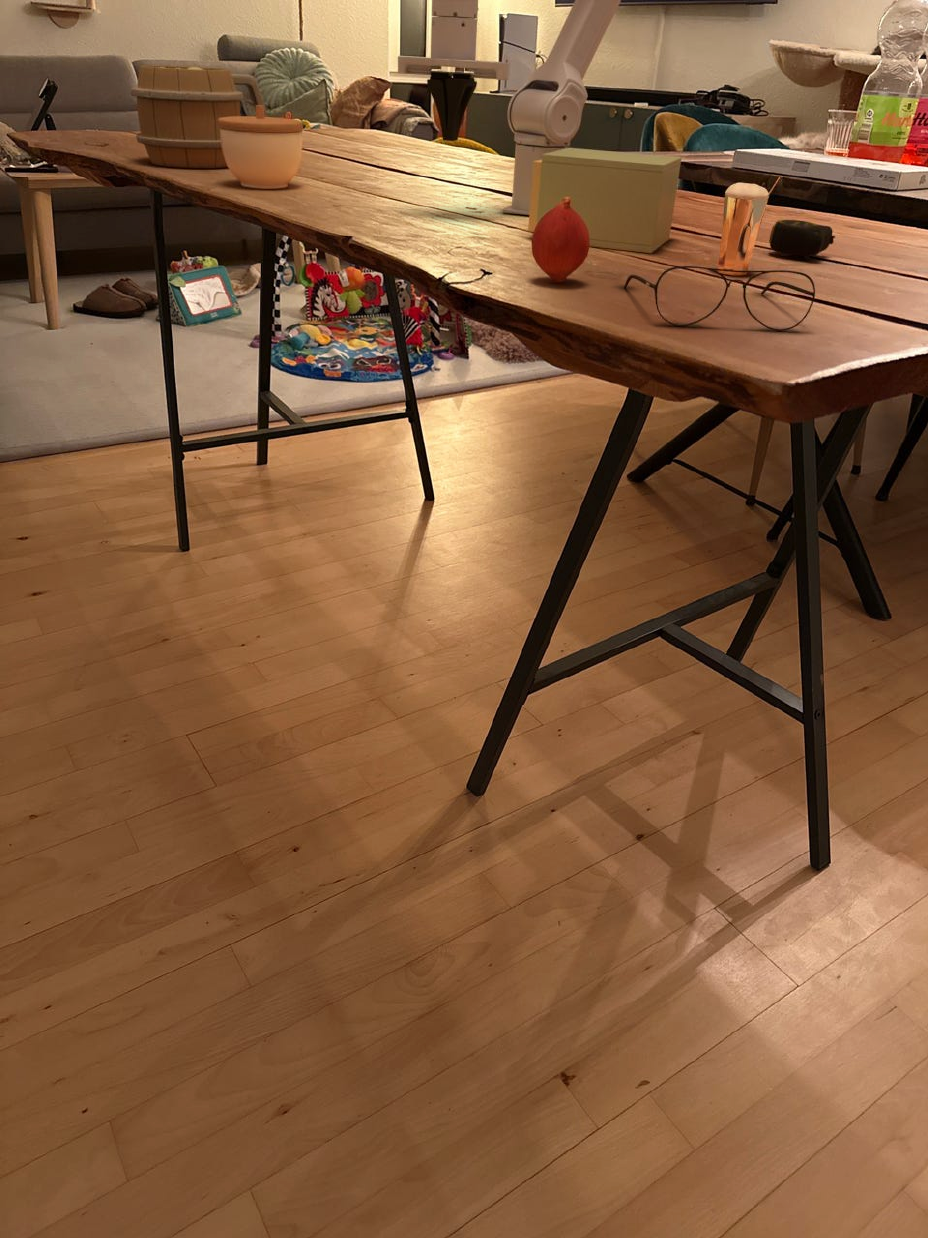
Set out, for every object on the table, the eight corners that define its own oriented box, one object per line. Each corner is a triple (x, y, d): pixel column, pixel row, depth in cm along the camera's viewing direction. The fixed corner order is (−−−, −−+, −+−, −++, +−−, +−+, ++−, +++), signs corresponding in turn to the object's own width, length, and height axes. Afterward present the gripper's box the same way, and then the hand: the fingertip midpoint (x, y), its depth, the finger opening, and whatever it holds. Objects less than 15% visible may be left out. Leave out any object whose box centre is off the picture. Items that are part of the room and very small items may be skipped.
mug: (296, 166, 169) (292, 70, 161) (170, 171, 155) (159, 66, 147) (242, 155, 181) (236, 65, 173) (120, 159, 166) (107, 61, 158)
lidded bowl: (321, 186, 148) (319, 107, 142) (266, 193, 138) (261, 109, 133) (262, 178, 153) (257, 101, 147) (205, 184, 144) (198, 102, 138)
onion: (519, 282, 94) (525, 196, 90) (542, 273, 98) (549, 190, 94) (572, 290, 92) (581, 202, 88) (593, 281, 96) (603, 196, 92)
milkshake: (753, 280, 101) (773, 178, 95) (705, 272, 103) (723, 172, 98) (765, 273, 104) (785, 175, 99) (719, 266, 106) (736, 169, 101)
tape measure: (815, 264, 111) (823, 230, 109) (759, 255, 114) (765, 222, 112) (830, 256, 116) (838, 224, 114) (776, 248, 119) (782, 216, 117)
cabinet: (535, 239, 116) (542, 153, 111) (560, 227, 125) (568, 147, 120) (651, 253, 111) (664, 164, 106) (669, 239, 121) (681, 157, 116)
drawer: (518, 229, 116) (523, 160, 112) (543, 218, 125) (548, 153, 121) (634, 242, 112) (644, 171, 108) (651, 230, 120) (661, 163, 116)
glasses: (649, 325, 81) (656, 264, 79) (621, 305, 95) (627, 253, 93) (810, 332, 82) (822, 272, 80) (760, 312, 95) (769, 259, 93)
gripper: (387, 13, 115) (387, 137, 122) (498, 18, 111) (491, 146, 118) (411, 16, 120) (409, 134, 127) (517, 21, 116) (509, 143, 123)
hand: (450, 140), depth 123 cm, fingers closed
